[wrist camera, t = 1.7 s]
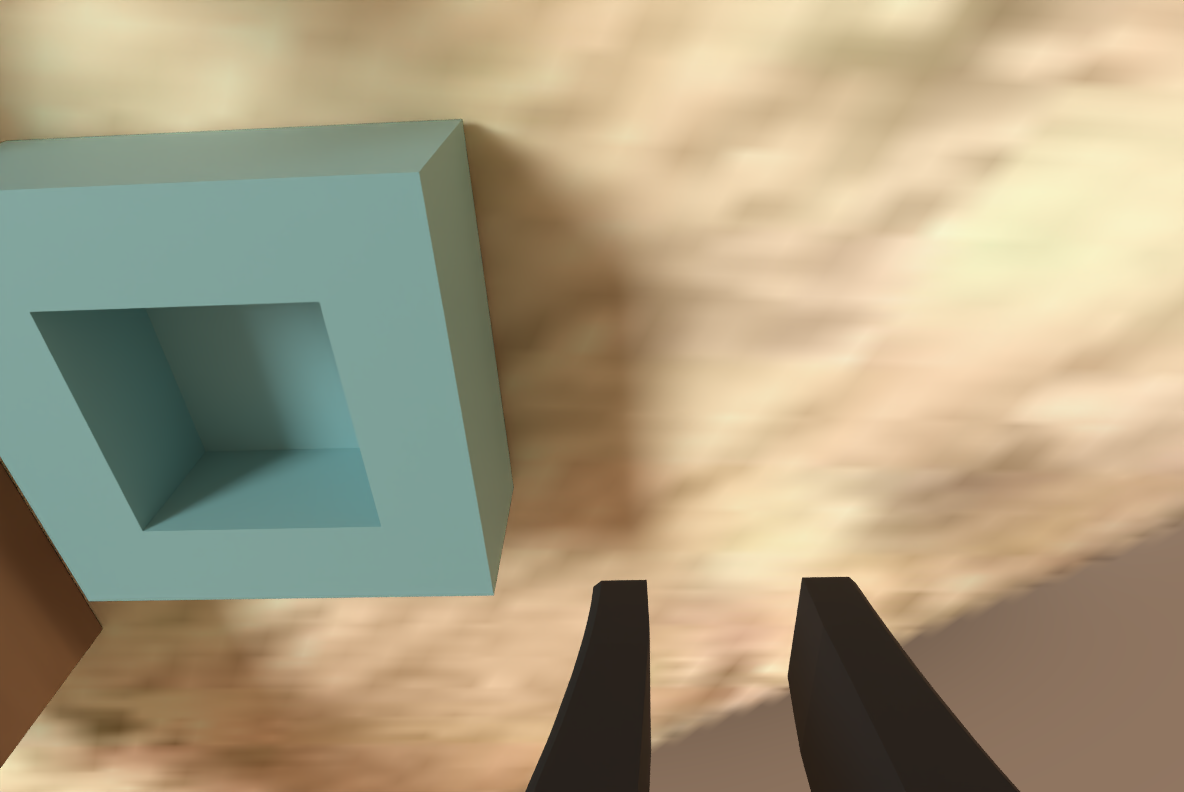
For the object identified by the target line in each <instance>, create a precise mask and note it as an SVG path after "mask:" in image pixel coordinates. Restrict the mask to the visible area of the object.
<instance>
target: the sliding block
mask: <svg viewBox="0 0 1184 792" xmlns="http://www.w3.org/2000/svg"><path fill="white" fill-rule="evenodd" d="M0 457H1V459H2V460H3V462H4V463H5V465H6V467H7V468H8V470H9V472H10V473H11V475H12V477H13V478H14V480H15V481H16V483H17V485H18V486H19V488H20V490H21V491H22V493H23V495H24V496H25V498H26V499H27V501H28V503H29V504H30V506H31V508H32V509H33V511H34V513H35V514H36V516H37V517H38V519H39V521H40V522H41V524H42V526H43V527H44V529H45V530H46V532H47V534H48V535H49V537H50V539H51V540H52V542H53V544H54V545H55V547H56V548H57V550H58V552H59V553H60V555H61V557H62V558H63V560H64V562H65V563H66V565H67V566H68V568H69V570H70V571H71V573H72V575H73V576H74V578H75V580H76V581H77V583H78V584H79V586H80V588H81V589H82V591H83V593H84V594H85V596H86V597H87V599H88V601H144V600H212V599H281V598H350V597H418V596H487V595H494V592H495V586H496V581H497V575H498V570H499V564H500V559H501V553H502V548H503V542H504V537H505V531H506V526H507V520H508V515H509V510H510V504H511V499H512V493H513V488H514V487H513V479H512V472H511V465H510V458H509V451H508V444H507V436H506V429H505V422H504V415H503V408H502V401H501V394H500V386H499V379H498V372H497V365H496V358H495V351H494V343H493V336H492V329H491V322H490V315H489V308H488V300H487V293H486V286H485V279H484V272H483V265H482V257H481V250H480V243H479V236H478V229H477V222H476V214H475V207H474V200H473V193H472V186H471V179H470V172H469V164H468V157H467V150H466V143H465V136H464V129H463V121H462V119H454V120H433V121H412V122H391V123H370V124H348V125H327V126H306V127H285V128H264V129H243V130H222V131H201V132H180V133H158V134H137V135H116V136H95V137H74V138H53V139H32V140H11V141H4V142H2V143H0Z"/></svg>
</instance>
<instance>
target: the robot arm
mask: <svg viewBox="0 0 1184 792" xmlns="http://www.w3.org/2000/svg"><path fill="white" fill-rule="evenodd" d="M788 681H789V688H790V694H791V700H792V706H793V712H794V718H795V724H796V729H797V735H798V741H799V747H800V752H801V756H802V759H803V763H804V767H805V771H806V774H807V778H808V782H809V785H810V789H811V792H1020V791H1019V790H1018V789H1017V788H1016V786H1015V785H1014V784H1013V783H1012V782H1011V781H1010V780H1009V779H1008V777H1007V776H1006V775H1005V774H1004V773H1003V772H1002V771H1001V770H1000V768H999V767H998V766H997V765H996V764H995V763H994V761H993V760H992V759H991V758H990V757H989V756H988V755H987V753H986V752H985V751H984V750H983V749H982V748H981V746H980V745H979V744H978V743H977V742H976V740H975V739H974V738H973V737H972V736H971V734H970V733H969V732H968V731H967V729H966V728H965V727H964V726H963V724H962V723H961V722H960V721H959V720H958V718H957V717H956V716H955V715H954V713H953V712H952V711H951V710H950V708H949V707H948V706H947V705H946V704H945V702H944V701H943V700H942V699H941V697H940V696H939V695H938V694H937V693H936V691H935V690H934V689H933V687H931V685H930V684H929V682H928V681H927V680H926V678H925V677H924V676H923V675H922V673H921V672H920V671H919V669H918V668H917V667H916V666H915V664H914V663H913V662H912V660H911V659H910V658H909V656H908V655H907V654H906V652H905V651H904V650H903V648H902V647H901V646H900V644H899V643H898V642H897V640H896V639H895V638H894V636H893V635H892V633H891V632H890V631H889V629H888V628H887V627H886V625H885V624H884V622H883V621H882V620H881V618H880V617H879V616H878V614H877V613H876V611H875V610H874V608H873V607H872V606H871V604H870V603H869V601H868V600H867V599H866V597H865V596H864V594H863V593H862V591H861V590H860V588H859V587H858V586H857V584H856V583H855V582H854V581H853V580H852V579H851V578H850V577H810V578H802V583H801V589H800V596H799V603H798V609H797V616H796V623H795V630H794V636H793V643H792V650H791V656H790V663H789V670H788ZM650 762H651V719H650V632H649V612H648V595H647V580H616V581H601V582H599V583H598V584H597V585H595V586H594V587H593V594H592V602H591V607H590V612H589V616H588V621H587V625H586V629H585V633H584V637H583V640H582V644H581V647H580V650H579V654H578V657H577V660H576V663H575V666H574V670H573V673H572V676H571V679H570V681H569V684H568V687H567V690H566V692H565V695H564V698H563V701H562V703H561V706H560V709H559V712H558V714H557V717H556V720H555V723H554V725H553V728H552V730H551V733H550V735H549V738H548V740H547V743H546V745H545V747H544V750H543V752H542V754H541V757H540V759H539V761H538V764H537V766H536V768H535V771H534V773H533V775H532V777H531V780H530V782H529V784H528V787H527V789H526V791H525V792H649V786H650Z"/></svg>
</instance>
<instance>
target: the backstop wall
mask: <svg viewBox="0 0 1184 792" xmlns="http://www.w3.org/2000/svg"><path fill="white" fill-rule="evenodd" d="M101 631H102V627H101V626H100V624H99V622H98V621H97V619H96V617H95V616H94V614H93V613H92V611H91V609H90V608H89V606H88V604H87V603H86V601H85V600H84V598H83V596H82V595H81V593H80V591H79V590H78V588H77V587H76V585H75V583H74V582H73V580H72V578H71V577H70V575H69V574H68V572H67V570H66V569H65V567H64V565H63V564H62V562H61V561H60V559H59V557H58V556H57V554H56V552H55V551H54V549H53V548H52V546H51V544H50V543H49V541H48V539H47V538H46V536H45V535H44V533H43V531H42V530H41V528H40V526H39V525H38V523H37V522H36V520H35V518H34V517H33V515H32V513H31V512H30V510H29V509H28V507H27V505H26V504H25V502H24V500H23V499H22V497H21V496H20V494H19V492H18V491H17V489H16V487H15V486H14V484H13V483H12V481H11V479H10V478H9V476H8V474H7V473H6V471H5V470H4V468H3V466H2V465H1V463H0V768H1V767H2V765H3V764H4V763H5V761H6V760H7V759H8V757H9V756H10V754H11V753H12V752H13V750H14V749H15V748H16V746H17V745H18V744H19V742H20V741H21V739H22V738H23V737H24V735H25V734H26V733H27V731H28V730H29V729H30V727H31V726H32V724H33V723H34V722H35V720H36V719H37V718H38V716H39V715H40V714H41V712H42V711H43V710H44V708H45V707H46V705H47V704H48V703H49V701H50V700H51V699H52V697H53V696H54V695H55V693H56V692H57V690H58V689H59V688H60V686H61V685H62V684H63V682H64V681H65V680H66V678H67V677H68V676H69V674H70V673H71V671H72V670H73V669H74V667H75V666H76V665H77V663H78V662H79V661H80V659H81V658H82V656H83V655H84V654H85V652H86V651H87V650H88V648H89V647H90V646H91V644H92V643H93V642H94V640H95V639H96V637H97V636H98V635H99V633H100V632H101Z"/></svg>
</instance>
